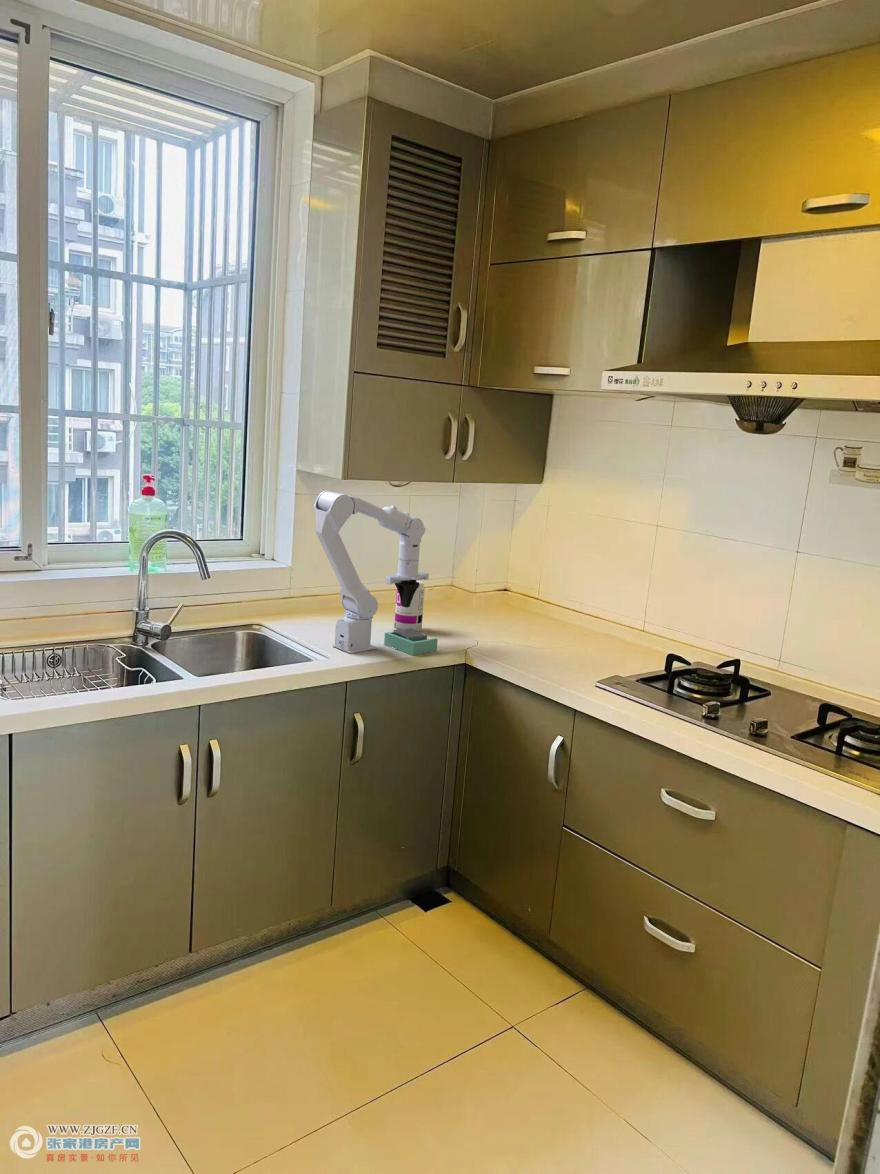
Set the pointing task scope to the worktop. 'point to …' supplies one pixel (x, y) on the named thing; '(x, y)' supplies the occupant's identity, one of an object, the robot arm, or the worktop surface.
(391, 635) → the dock
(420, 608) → the supplement can
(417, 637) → the block
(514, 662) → the worktop surface
